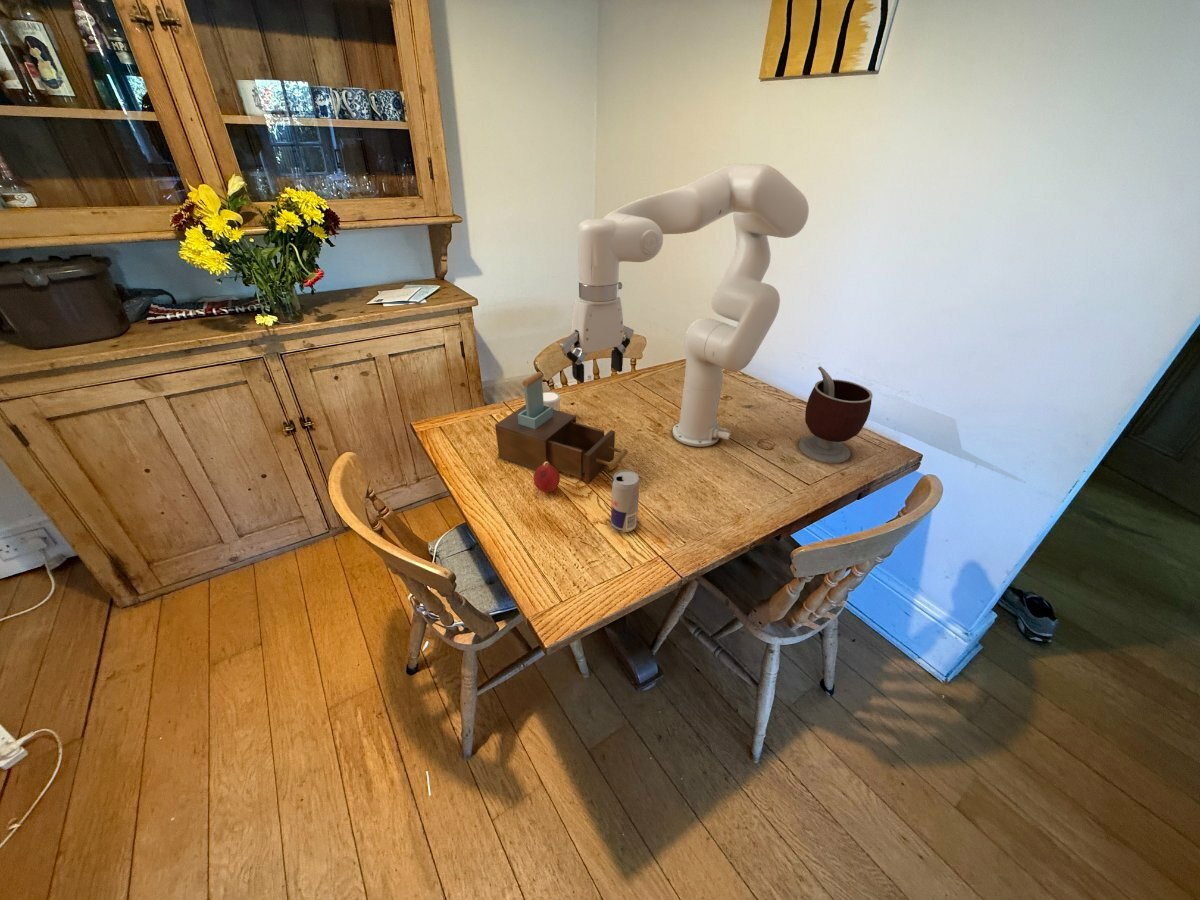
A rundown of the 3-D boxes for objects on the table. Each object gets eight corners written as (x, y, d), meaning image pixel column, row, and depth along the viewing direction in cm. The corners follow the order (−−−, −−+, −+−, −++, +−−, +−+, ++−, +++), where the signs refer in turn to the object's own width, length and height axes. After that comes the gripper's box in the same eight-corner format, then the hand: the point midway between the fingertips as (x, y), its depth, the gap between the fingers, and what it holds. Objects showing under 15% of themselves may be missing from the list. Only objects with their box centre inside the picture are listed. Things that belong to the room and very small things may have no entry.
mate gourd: (865, 458, 117) (893, 386, 106) (823, 469, 112) (848, 395, 101) (819, 429, 129) (840, 362, 118) (780, 439, 124) (798, 370, 113)
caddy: (553, 416, 114) (550, 372, 108) (535, 429, 109) (531, 384, 102) (536, 411, 116) (533, 368, 110) (518, 424, 111) (513, 379, 104)
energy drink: (609, 516, 97) (610, 470, 91) (634, 515, 98) (637, 468, 91) (612, 533, 93) (613, 486, 86) (638, 532, 93) (642, 485, 87)
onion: (549, 502, 101) (547, 473, 96) (529, 494, 103) (526, 464, 99) (565, 489, 105) (564, 460, 101) (545, 480, 107) (543, 452, 103)
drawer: (632, 463, 112) (633, 436, 108) (608, 490, 103) (608, 462, 99) (568, 443, 120) (567, 417, 115) (540, 467, 110) (538, 439, 106)
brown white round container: (557, 425, 130) (556, 403, 126) (534, 422, 131) (532, 400, 127) (563, 414, 135) (563, 392, 131) (541, 411, 136) (540, 390, 133)
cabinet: (577, 448, 120) (576, 415, 114) (547, 474, 110) (545, 440, 104) (531, 433, 126) (528, 402, 120) (499, 457, 115) (494, 424, 110)
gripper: (622, 282, 94) (620, 360, 104) (549, 293, 86) (553, 378, 95) (646, 289, 89) (641, 371, 99) (570, 302, 81) (572, 391, 90)
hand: (598, 374), depth 97 cm, fingers open, 9 cm apart
